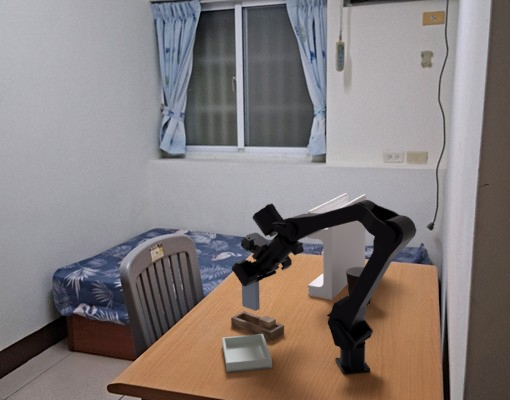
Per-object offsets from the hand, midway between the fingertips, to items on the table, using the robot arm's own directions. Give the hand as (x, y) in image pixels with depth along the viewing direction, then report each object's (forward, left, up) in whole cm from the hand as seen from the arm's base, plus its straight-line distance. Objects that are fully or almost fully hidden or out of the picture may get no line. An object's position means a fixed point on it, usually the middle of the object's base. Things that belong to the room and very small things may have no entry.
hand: (247, 281), depth 130 cm
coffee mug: (+9, -35, -13) cm, 39 cm away
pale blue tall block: (-1, -1, -7) cm, 7 cm away
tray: (-16, +3, -13) cm, 21 cm away
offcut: (-5, -4, -11) cm, 13 cm away
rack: (-2, -2, -13) cm, 13 cm away
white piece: (+30, -36, -13) cm, 49 cm away
